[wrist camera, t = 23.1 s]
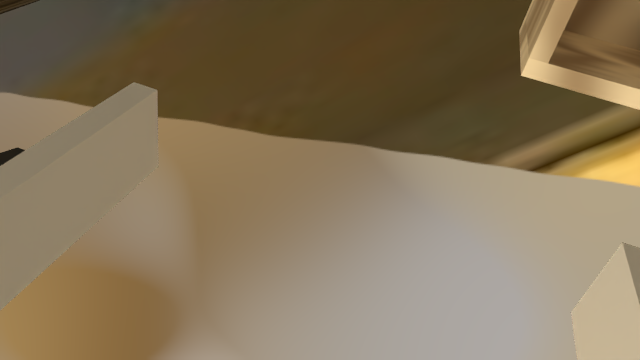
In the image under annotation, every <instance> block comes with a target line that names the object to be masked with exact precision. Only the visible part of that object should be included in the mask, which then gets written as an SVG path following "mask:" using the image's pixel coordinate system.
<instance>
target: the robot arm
mask: <svg viewBox="0 0 640 360" xmlns="http://www.w3.org/2000/svg"><path fill="white" fill-rule="evenodd" d="M36 1H39V0H0V14H2V13H5V12H8V11H11V10H14V9H16V8H19V7H22V6H25V5H28V4H31V3H33V2H36ZM157 167H158V108H157V90H156V89H153V88H150V87H147V86H144V85H141V84H138V83H134V82H133V83H132V84H130V85H129V86H127V87H125V88H124V89H122V90H121V91H119V92H118V93H116V94H114V95H113V96H111V97H110V98H108V99H106V100H105V101H103V102H102V103H100V104H98V105H97V106H95V107H94V108H92V109H90V110H89V111H87V112H86V113H84V114H82V115H81V116H79V117H78V118H76V119H75V120H73V121H71V122H70V123H68V124H67V125H65V126H63V127H62V128H60V129H59V130H57V131H55V132H54V133H52V134H51V135H49V136H47V137H46V138H45V139H43V140H41V141H40V142H38V143H36V144H35V145H33V146H31V147H30V148H29V149H27V150H23V149H20V148H15V149H11V150H9V151H5V152H2V153H0V310H1V309H2V308H3V307H5V306H6V305H7V304H8V303H9V302H10V301H11V300H12V299H13V298H15V297H16V296H17V295H18V294H19V293H20V292H21V291H22V290H23V289H24V288H26V286H28V285H29V284H30V283H31V282H32V281H33V280H34V279H35V278H37V277H38V276H39V275H40V274H41V273H42V272H43V271H44V270H45V269H46V268H47V267H49V266H50V265H51V264H52V263H53V262H54V261H55V260H56V259H57V258H58V257H60V255H62V254H63V253H64V252H65V251H66V250H67V249H68V248H70V247H71V246H72V245H73V244H74V243H75V242H76V241H77V240H78V239H79V238H80V237H81V236H83V235H84V234H85V233H86V232H87V231H88V230H89V229H90V228H91V227H93V226H94V225H95V224H96V223H97V222H98V221H99V220H100V219H101V218H102V217H104V216H105V215H106V214H107V213H108V212H109V211H110V210H111V209H112V208H114V207H115V206H116V205H117V204H118V203H119V202H120V201H121V200H122V199H123V198H124V197H125V196H127V195H128V194H129V193H130V192H131V191H132V190H133V189H134V188H135V187H136V186H137V185H139V184H140V183H141V182H142V181H143V180H144V179H145V178H146V177H148V176H149V174H151V173H152V172H153V171H154V170H155V169H156V168H157ZM571 316H572V324H573V331H574V340H575V347H576V355H577V360H640V248H638V247H635V246H632V245H629V244H626V243H622V244H621V245H620V246H619V248H618V249H617V250H616V252H615V253H614V255H613V256H612V257H611V259H610V260H609V261H608V263H607V264H606V265H605V267H604V268H603V270H602V271H601V272H600V273H599V275H598V276H597V278H596V279H595V280H594V282H593V283H592V284H591V286H590V287H589V288H588V290H587V291H586V293H585V294H584V295H583V297H582V298H581V299H580V301H579V302H578V304H577V305H576V306H575V308H574V309H573V310H572V312H571Z"/></svg>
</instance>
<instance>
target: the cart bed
mask: <svg viewBox="0 0 640 360" xmlns="http://www.w3.org/2000/svg"><path fill="white" fill-rule="evenodd" d="M519 33H520V60H521V76H525V77H528V78H532V79H535V80H539V81H542V82H545V83H549V84H552V85H556V86H559V87H563V88H566V89H570V90H573V91H577V92H580V93H584V94H587V95H590V96H594V97H597V98H601V99H604V100H608V101H611V102H615V103H618V104H622V105H625V106H628V107H632V108H635V109H639V110H640V0H532V2H531V5H530V7H529V9H528V12H527V14H526V17H525V19H524V21H523V24H522V26H521V28H520V31H519Z"/></svg>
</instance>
